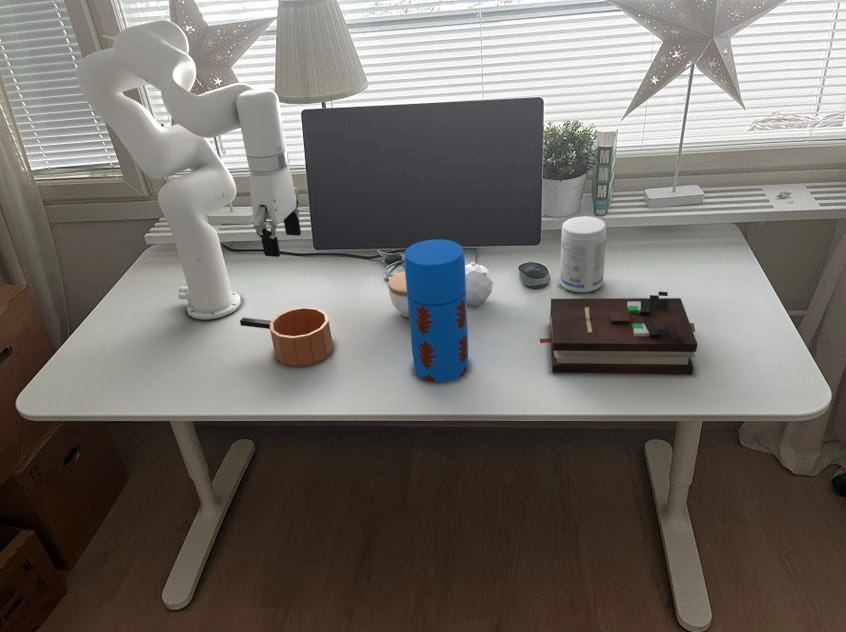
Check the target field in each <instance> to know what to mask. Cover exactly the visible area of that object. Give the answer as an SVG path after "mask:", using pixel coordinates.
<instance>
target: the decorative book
mask: <svg viewBox="0 0 846 632" xmlns="http://www.w3.org/2000/svg"><path fill="white" fill-rule="evenodd" d="M668 296H669V295H668V291H658V295H656V294H655V295H653V294H649V298H648V297H638V298H637V297H632V298H629V297H623V298H622V297H619V298H618V297H616V298H611V297H610V298H609V297H608V298H607V297H605V298H603V297H602V298H596V297H595V298H594V297H593V298H592V297H591V298H589V297H588V298H587V297H586V298H585V297H584V298H550V313H549V336H550V337H546V338H539V343H540V344H550V353H551V370H552V371H551V372H552V374H601V375H602V374H604V375H605V374H608V375H609V374H612V375H613V374H614V375H675V376H676V375H678V376H679V375H683V376H684V375H685V376H686V375H688V376H692V375H693V372H694V365H693V362H692V358H697V356H696V354H695V353H697V348H698V341H697V340H696V336H695V334H694V333H696V328H695V323H694V322H690V319H689V317H688V314H687V311H686V309H685V306H684V303H683V301H682V298H681V297H668Z"/></svg>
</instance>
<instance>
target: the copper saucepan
mask: <svg viewBox="0 0 846 632" xmlns="http://www.w3.org/2000/svg"><path fill="white" fill-rule="evenodd" d="M239 323H240V326H241V327H249V328H258V329H266V330H269V332H270V337H271V341H272V345H273V351H274V354H275V357H276V359H277V361H278V362H280V363H281V364H283V365H284V366H290V367H307V366H312V365H314V364H318V363H320V362H322V361H324V360H325V359H326V358H328V357H329V356H330V355H331V354H332V352H333V348H334V344H333V339H332V337H333V336H332V332H331V327H330V325H331V324H330V320H329V316H328V313H327V312H326V311H324V310H322V309H320V308H317V307H308V306H301V307H296V308H295V307H294V308H290V309H287V310H285V311H283V312H281V313H279V314H276V315H275V317H274V318H273V319H272V320H268V319H259V318H252V317H242V318H241V319H240V320H239Z"/></svg>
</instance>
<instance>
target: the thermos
mask: <svg viewBox="0 0 846 632" xmlns="http://www.w3.org/2000/svg"><path fill="white" fill-rule="evenodd" d="M403 257H404V259H403V265H404V271H405V278H406V289H407V300H408V311H409V318H408V320H409V321H408V322H409V331H410V332H409V333H410V342H411V343H410V344H411V354H412V360H413V365H414V371H415V374H416V375H417V376H418V377H419V378H420V379H422V380H424V381H426V382H429V383H436V384H441V383H443V384H444V383H450V382H453V381H457V380H458V379H460V378H462V377H464V375H465V374H466V373H467V371H468V367H469V334H468V307H467V306H468V304H467V303H466V276H465V266H466V257H465V252H464V248H463V246H462V245H461V244H459V243H458V242H456V241H453V240H449V239H441V238H440V239H439V238H438V239H426V240H422V241H417V242H415V243H413V244H411V245H410V246H409V247H408V248H406V249H405V252H404V255H403Z"/></svg>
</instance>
